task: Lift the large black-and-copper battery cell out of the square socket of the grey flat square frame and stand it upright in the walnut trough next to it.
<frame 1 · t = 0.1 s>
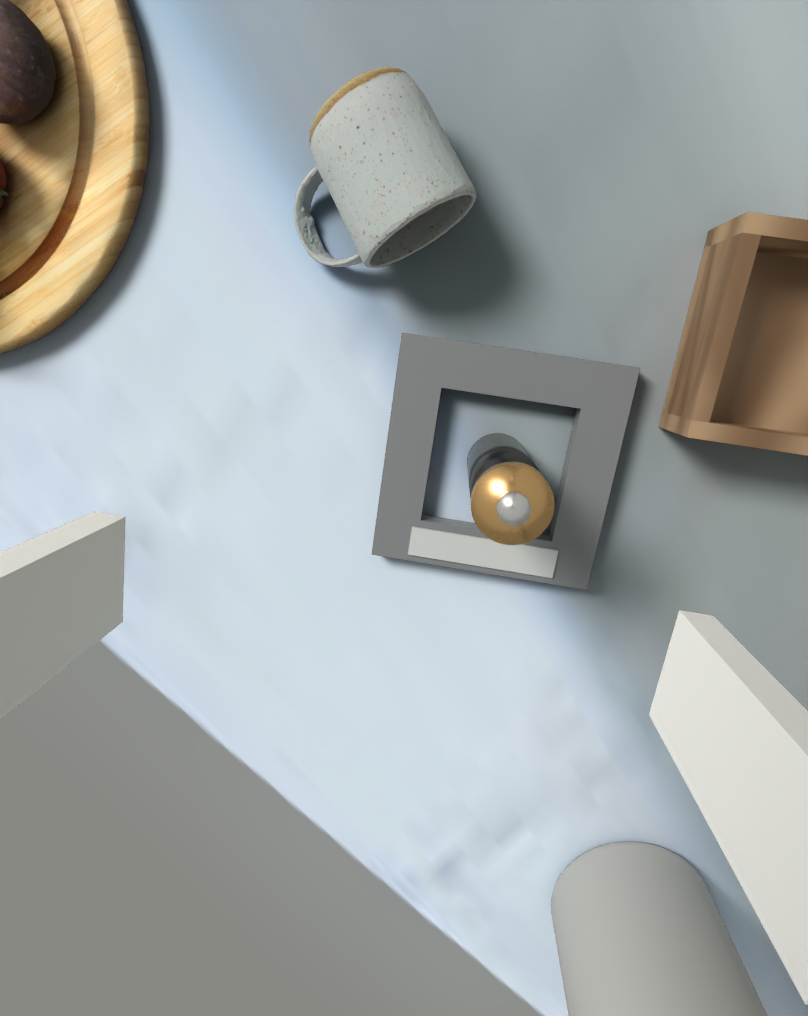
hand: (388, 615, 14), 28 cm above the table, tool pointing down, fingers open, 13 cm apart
ceramic mug: (380, 206, 38), on the table
cylinder vase: (626, 896, 49), on the table
grey flat square frame: (496, 462, 41), on the table
battery cell: (503, 482, 35), in the grey flat square frame
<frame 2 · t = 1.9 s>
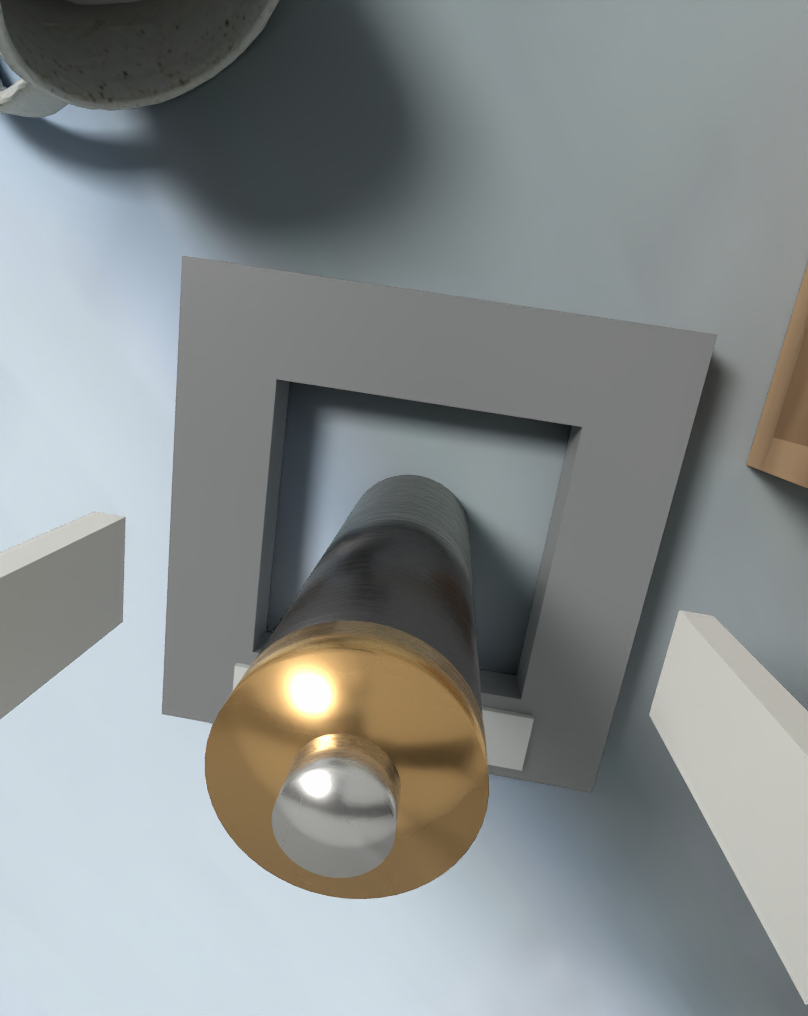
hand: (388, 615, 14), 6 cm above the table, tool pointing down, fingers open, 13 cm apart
grey flat square frame: (408, 533, 20), on the table
battery cell: (387, 614, 14), in the grey flat square frame
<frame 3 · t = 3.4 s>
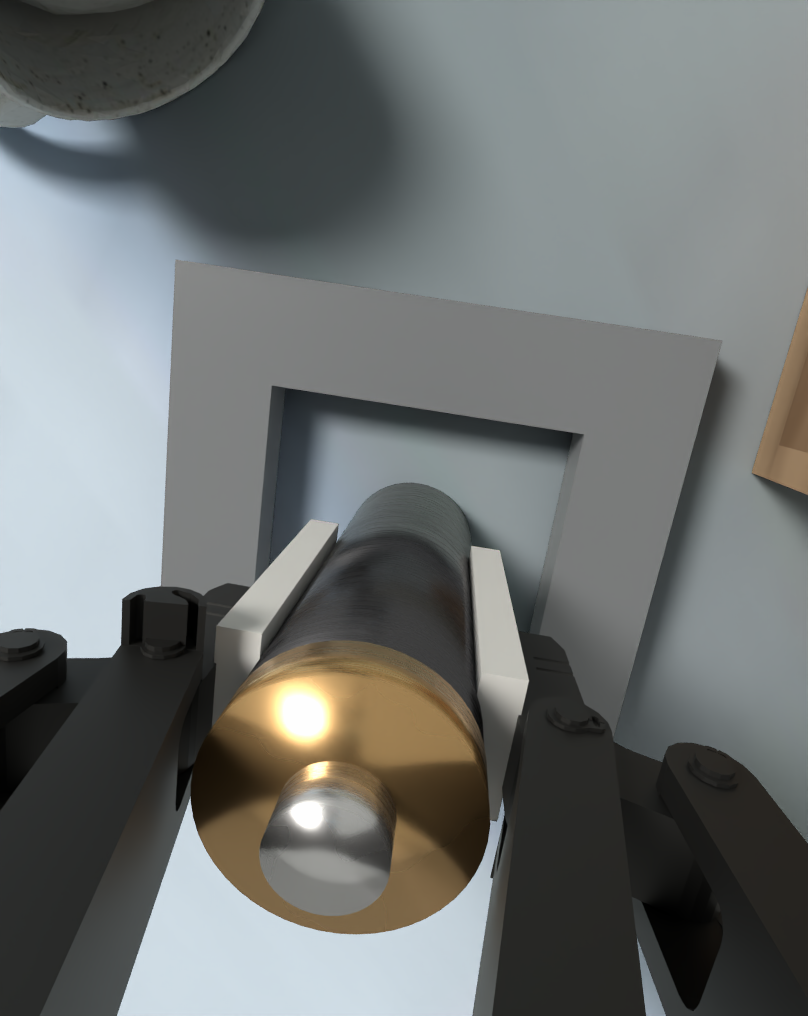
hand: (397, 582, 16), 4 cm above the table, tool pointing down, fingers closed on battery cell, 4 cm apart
grey flat square frame: (407, 542, 20), on the table
battery cell: (386, 628, 13), in the grey flat square frame, touching gripper
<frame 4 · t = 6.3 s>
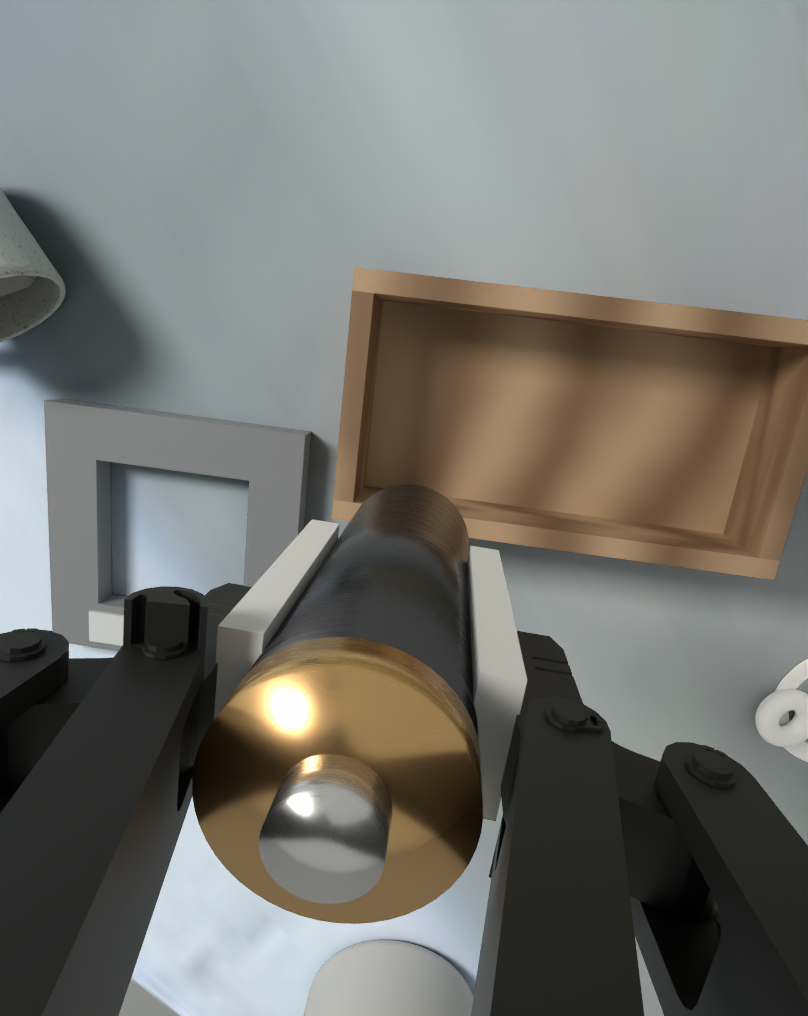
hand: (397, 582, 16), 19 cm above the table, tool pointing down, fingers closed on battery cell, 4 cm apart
walnut trough: (554, 418, 33), on the table
cylinder vase: (393, 996, 45), on the table
grey flat square frame: (182, 537, 37), on the table
battery cell: (384, 627, 14), point 21 cm above the table, touching gripper
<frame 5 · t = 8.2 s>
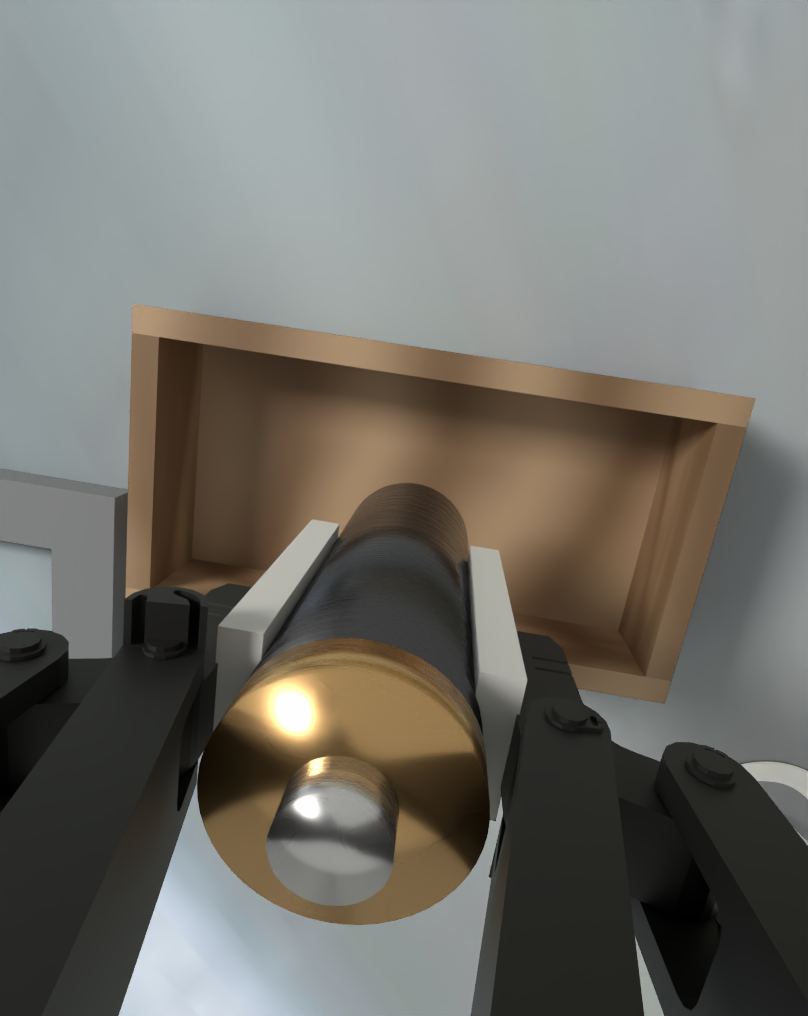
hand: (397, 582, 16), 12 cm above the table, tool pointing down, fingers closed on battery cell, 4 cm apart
walnut trough: (419, 485, 27), on the table
teacup and saucer: (725, 773, 30), on the table
battery cell: (385, 626, 14), point 14 cm above the table, touching gripper
when the fingers open (7 cm above the table, at t = 9.8 s): battery cell drops 2 cm, resting on walnut trough.
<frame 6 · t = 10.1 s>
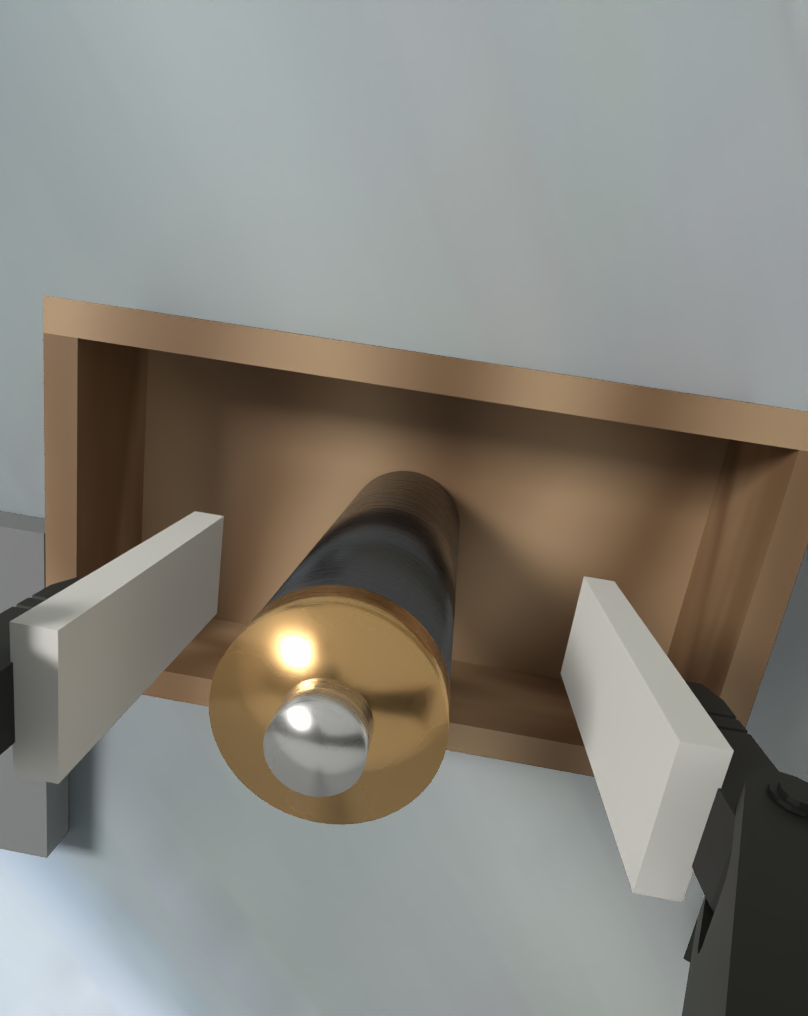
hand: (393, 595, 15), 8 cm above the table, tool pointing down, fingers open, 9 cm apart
walnut trough: (413, 518, 22), on the table
battery cell: (377, 593, 15), in the walnut trough, point 7 cm above the table
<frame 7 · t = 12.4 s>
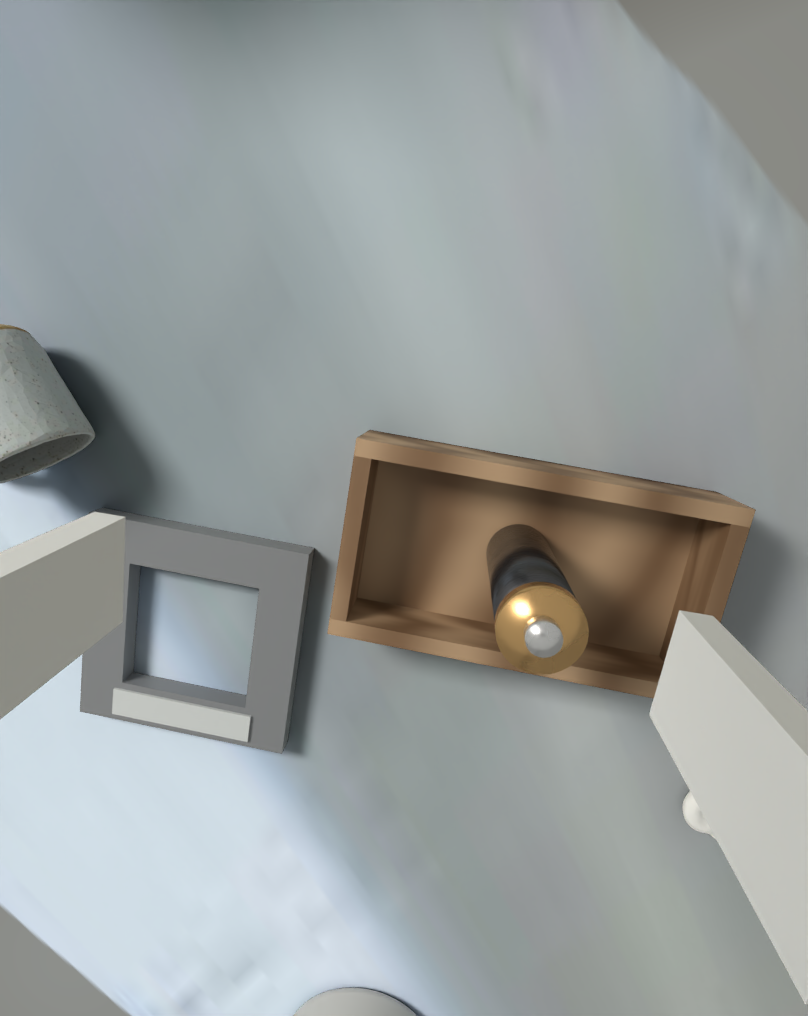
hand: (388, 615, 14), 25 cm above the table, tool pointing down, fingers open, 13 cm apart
walnut trough: (520, 550, 39), on the table
ceramic mug: (34, 415, 40), on the table
grey flat square frame: (197, 628, 42), on the table
teacup and saucer: (732, 760, 42), on the table
battery cell: (528, 589, 32), in the walnut trough, point 7 cm above the table
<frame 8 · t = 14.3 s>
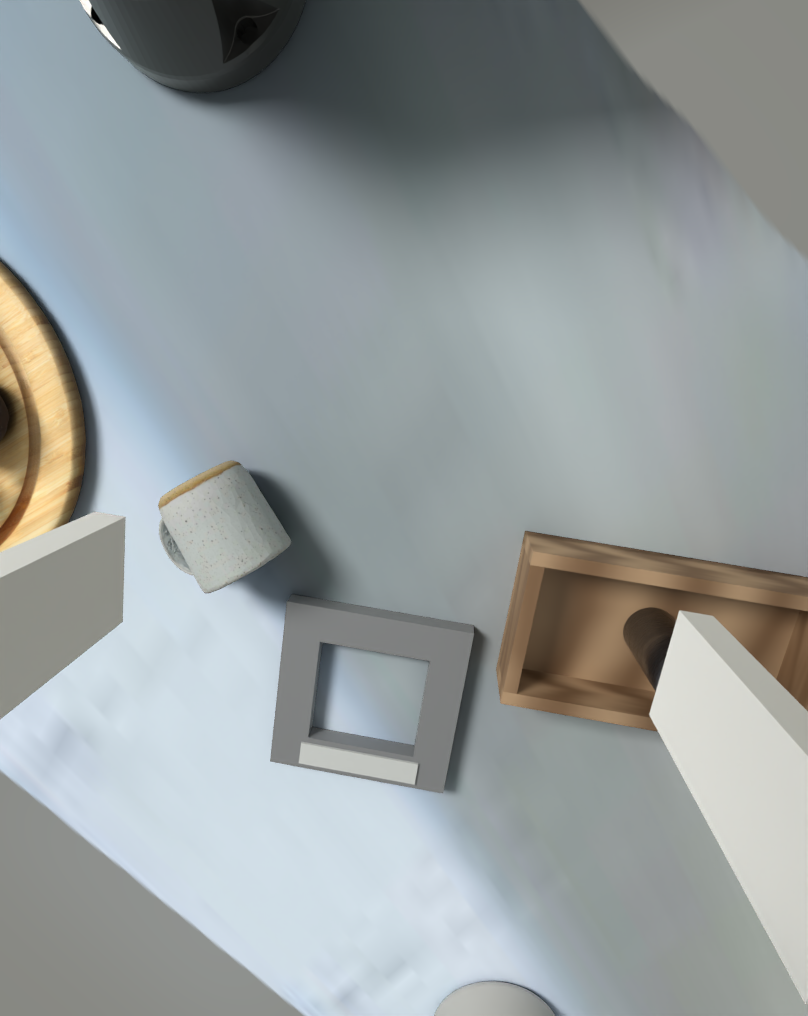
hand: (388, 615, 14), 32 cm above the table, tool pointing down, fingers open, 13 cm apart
walnut trough: (649, 625, 47), on the table
ceramic mug: (230, 522, 48), on the table
grey flat square frame: (369, 690, 50), on the table
battery cell: (680, 674, 40), in the walnut trough, point 7 cm above the table
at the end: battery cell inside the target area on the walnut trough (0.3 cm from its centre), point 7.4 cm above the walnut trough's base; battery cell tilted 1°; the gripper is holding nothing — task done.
